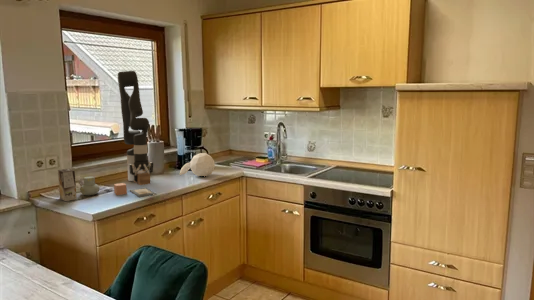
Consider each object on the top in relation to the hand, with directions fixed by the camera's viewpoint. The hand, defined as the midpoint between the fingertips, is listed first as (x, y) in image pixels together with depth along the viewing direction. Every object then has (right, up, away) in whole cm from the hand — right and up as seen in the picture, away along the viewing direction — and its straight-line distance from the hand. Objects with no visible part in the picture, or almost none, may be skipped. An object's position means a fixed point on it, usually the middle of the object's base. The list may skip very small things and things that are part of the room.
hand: (141, 180), depth 235 cm
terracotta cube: (-12, -8, 0) cm, 14 cm away
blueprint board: (0, -7, +1) cm, 7 cm away
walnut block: (0, -1, 0) cm, 1 cm away
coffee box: (-37, -9, -12) cm, 40 cm away
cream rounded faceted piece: (+24, 0, +49) cm, 55 cm away
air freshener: (-29, -8, -2) cm, 30 cm away
